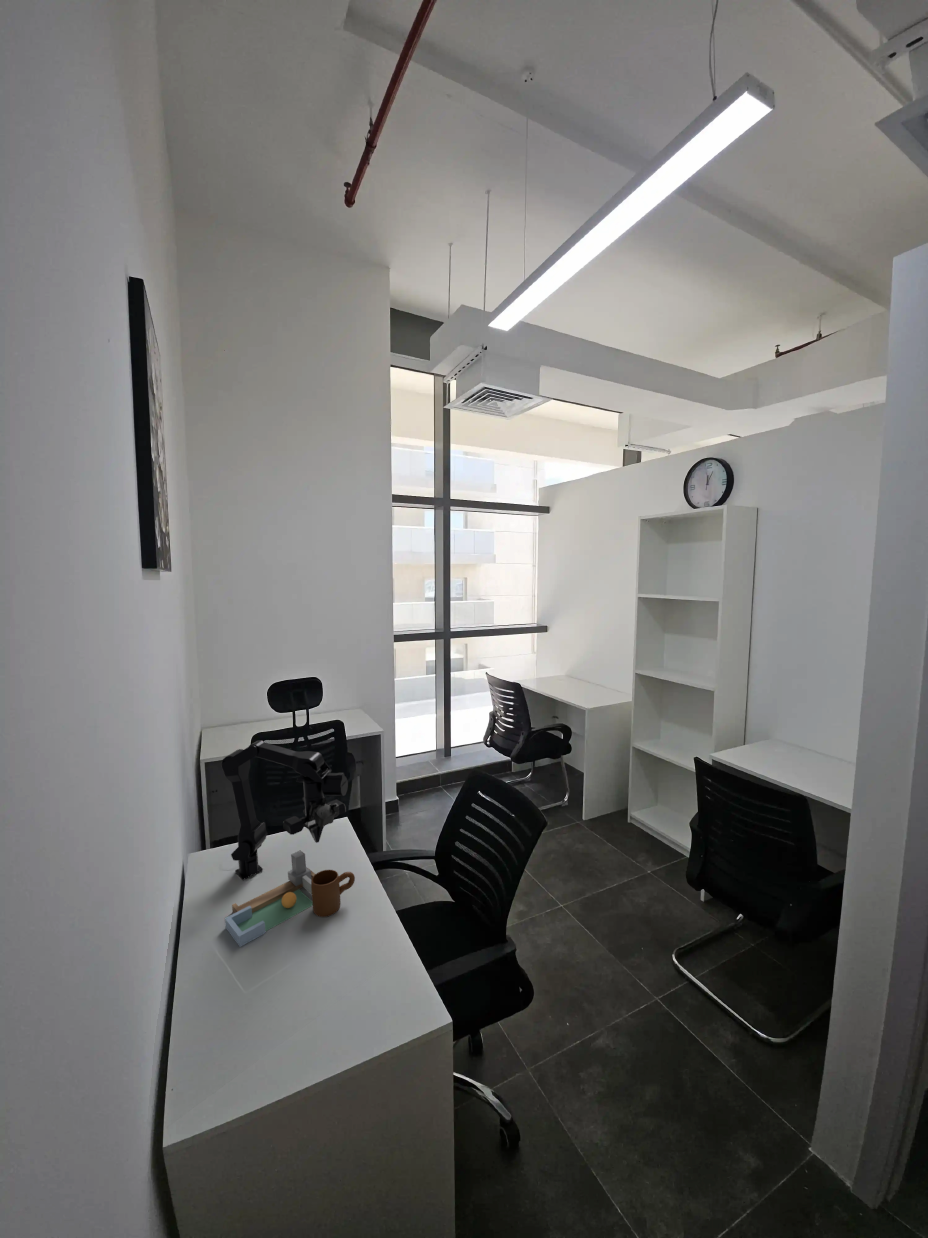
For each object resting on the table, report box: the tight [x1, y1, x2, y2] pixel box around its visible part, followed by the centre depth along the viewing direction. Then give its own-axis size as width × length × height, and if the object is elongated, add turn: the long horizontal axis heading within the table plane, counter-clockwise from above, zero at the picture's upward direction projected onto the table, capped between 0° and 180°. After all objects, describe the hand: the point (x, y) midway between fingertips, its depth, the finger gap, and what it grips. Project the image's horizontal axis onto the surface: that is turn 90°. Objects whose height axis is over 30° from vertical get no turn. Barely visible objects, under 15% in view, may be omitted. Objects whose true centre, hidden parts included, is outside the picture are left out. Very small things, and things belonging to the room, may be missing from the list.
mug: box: [311, 869, 356, 918], centre depth 137 cm, size 12×8×9 cm, turn 112°
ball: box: [282, 892, 296, 908], centre depth 138 cm, size 4×4×4 cm
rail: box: [231, 867, 316, 914], centre depth 143 cm, size 5×23×2 cm, turn 135°
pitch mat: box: [237, 889, 313, 932], centre depth 135 cm, size 10×21×1 cm, turn 135°
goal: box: [224, 906, 267, 948], centre depth 129 cm, size 10×7×3 cm, turn 45°
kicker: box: [287, 850, 312, 895], centre depth 145 cm, size 12×5×9 cm, turn 45°
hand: (317, 842), depth 152 cm, fingers closed
